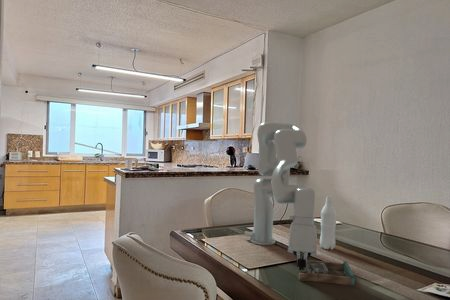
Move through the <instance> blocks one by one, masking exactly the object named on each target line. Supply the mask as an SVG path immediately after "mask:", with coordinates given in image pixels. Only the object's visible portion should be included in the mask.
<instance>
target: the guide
mask: <svg viewBox="0 0 450 300" xmlns="http://www.w3.org/2000/svg"><path fill="white" fill-rule="evenodd" d="M301 259H302V257H301ZM297 260H298V259H297V258H296V261H297ZM306 260H307V261H310V263H311V264H314V262H315V263H318V262H319V263H325V266H326V267H327V269H328V270H335V271H342V272H343V273H344V275H345V276H344V275H333V274H329V273H328V274H319V273H307V272H299V273H298V281H299V282H322V283H332V284H338V285H345V286H352V287H353V286H355V280H356V278H355V277H356V275H355V273H354V272H353V270H352V268H351V266H350V264H349V263H348V261H346V260H343V262H342V263H341V262H334V261H333V262H331V261H324V260H322V261H321V260H315V259H314V260H313V259H310V258H307V259H306Z"/></svg>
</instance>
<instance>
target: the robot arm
mask: <svg viewBox="0 0 450 300" xmlns="http://www.w3.org/2000/svg"><path fill="white" fill-rule="evenodd" d="M256 134H257V141H258V147H259V150H258V161H257V170H258V171H257V172H258V174H259V175H261V176H265V177H267V178H265V177H264V178H263V177H262V178H258V179H257V178H256V180H254V182H253V195H254V208H253V209H254V211H253V230H252V231H246V230H245V231H244V236H246V237H249V241H250V242H251V243H253V244H255V245H260V246H269V245H270V246H271V245H274V244H276V239H275V238H273V234H274V233H273V229H274V204H273V202H272V201H271V199H272V198H274V201H275V202H277V203H278V204H282V205H284V204H285V205H286V204H292V205H293V214H292V216H291V215H289V219H288V220H290V221H292V222H291V223H290V226H289V234H288V246H287V247H288V248H287V252H288V253H291V254H293V255H294V256H295V257H296V265H297V268H298V269H299V271H305V267H306V259H309V258H310V257H311V256H316V255H317V254H318V252H317V249H318V248H317V243H318V241H317V239H318V238H317V226H316V225H315V223H314V221H315V220H314V219H315V202H316V201H315V199H316V192H315V190H314V189H313V188H310V187H307V186H305V185H303V184H290V175H291V172H290V171H291V168H293V167H294V166H296V165H297V164H298V163H299V157H298V152H297V149H299V150H301V149H303V148H305V146H306V145H307V135H306V133H305V132H304V131H303V130H302V129H301V128H299V127H298V126H296V125H294V124H293V123H286V122H285V123H284V122H275V121H267V122H266V121H265V122H262V123H261V124H259V126H258V129H257V133H256ZM268 177H271V178H268ZM301 253H303V255H302V256H301ZM301 258H302V259H301ZM297 259H298V260H297Z"/></svg>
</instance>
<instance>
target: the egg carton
mask: <svg viewBox="0 0 450 300" xmlns="http://www.w3.org/2000/svg"><path fill="white" fill-rule="evenodd" d="M304 271H306V273H319V274H328V275H329V269H327V267H326V266H325V263H319V262H318V263H315V262H314V264H311V263H310V261H307V260H306V267H304Z"/></svg>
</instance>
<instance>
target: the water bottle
mask: <svg viewBox="0 0 450 300" xmlns="http://www.w3.org/2000/svg"><path fill="white" fill-rule="evenodd" d="M333 202H334V196H332V195H326V199H325V204H324V206H323V207H322V208H321V211H320V222H319V223H320V235H319V236H320V237H319V245H320V247H322V249H324V250H326V249H327V250H329V249H330V250H331V251H332V250H334V248H335V247H336V227H337V215H338V213H337V210H336V208H335V205H334V203H333Z"/></svg>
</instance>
